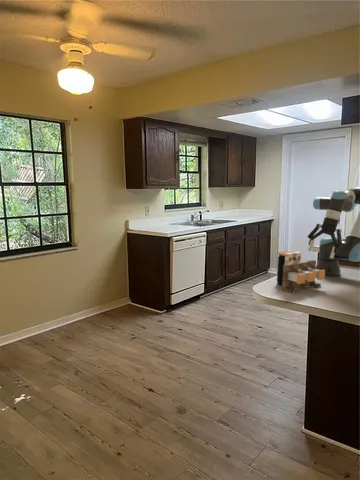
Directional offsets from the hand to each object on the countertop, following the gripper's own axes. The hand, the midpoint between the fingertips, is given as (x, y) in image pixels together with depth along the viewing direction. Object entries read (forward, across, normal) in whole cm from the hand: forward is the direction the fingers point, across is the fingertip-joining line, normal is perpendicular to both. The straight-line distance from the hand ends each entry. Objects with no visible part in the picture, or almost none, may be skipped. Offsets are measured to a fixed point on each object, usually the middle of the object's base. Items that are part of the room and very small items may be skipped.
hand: (320, 254), depth 200 cm
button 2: (+12, +5, -7) cm, 15 cm away
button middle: (+14, +4, -15) cm, 21 cm away
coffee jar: (+21, -8, -12) cm, 25 cm away
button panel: (+20, +3, -13) cm, 24 cm away
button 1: (+16, +3, -23) cm, 28 cm away
